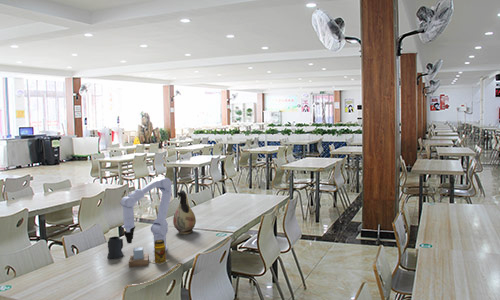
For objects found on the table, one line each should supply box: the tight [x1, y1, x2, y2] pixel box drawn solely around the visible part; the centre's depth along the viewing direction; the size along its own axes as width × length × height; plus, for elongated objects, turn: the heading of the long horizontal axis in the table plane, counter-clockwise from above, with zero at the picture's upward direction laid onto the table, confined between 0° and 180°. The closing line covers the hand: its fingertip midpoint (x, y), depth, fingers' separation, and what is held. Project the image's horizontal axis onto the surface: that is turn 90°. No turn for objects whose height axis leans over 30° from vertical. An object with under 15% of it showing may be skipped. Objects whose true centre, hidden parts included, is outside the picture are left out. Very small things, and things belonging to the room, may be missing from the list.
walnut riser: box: [128, 253, 150, 268], centre depth 227 cm, size 10×10×3 cm
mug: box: [106, 236, 124, 260], centre depth 240 cm, size 12×9×11 cm
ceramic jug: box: [172, 189, 197, 235], centre depth 281 cm, size 17×15×30 cm
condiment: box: [150, 240, 170, 265], centre depth 228 cm, size 7×8×12 cm
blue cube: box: [132, 246, 144, 260], centre depth 227 cm, size 5×5×5 cm
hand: (130, 241), depth 233 cm, fingers open, 7 cm apart
